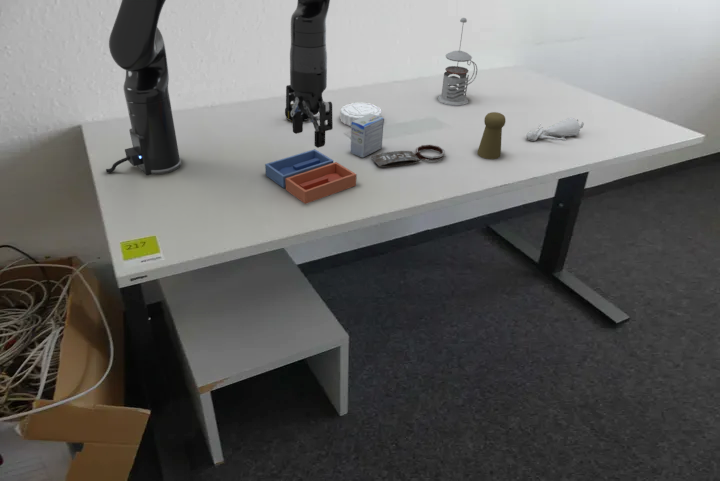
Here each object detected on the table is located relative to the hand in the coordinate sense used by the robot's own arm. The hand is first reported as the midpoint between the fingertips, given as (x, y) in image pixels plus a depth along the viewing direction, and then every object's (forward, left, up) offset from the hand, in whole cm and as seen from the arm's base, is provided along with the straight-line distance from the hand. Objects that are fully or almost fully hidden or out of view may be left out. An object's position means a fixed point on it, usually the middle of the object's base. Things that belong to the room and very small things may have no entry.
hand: (308, 139), depth 122 cm
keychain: (+28, -4, -11) cm, 31 cm away
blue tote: (+1, +5, -11) cm, 12 cm away
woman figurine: (+71, -17, -11) cm, 74 cm away
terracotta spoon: (+1, -3, -11) cm, 11 cm away
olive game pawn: (+47, -14, -11) cm, 50 cm away
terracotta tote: (+1, -3, -11) cm, 12 cm away
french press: (+70, +19, -11) cm, 73 cm away
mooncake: (+34, +23, -11) cm, 43 cm away
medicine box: (+22, +6, -11) cm, 25 cm away
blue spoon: (+1, +6, -11) cm, 12 cm away
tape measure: (+20, +34, -11) cm, 41 cm away
